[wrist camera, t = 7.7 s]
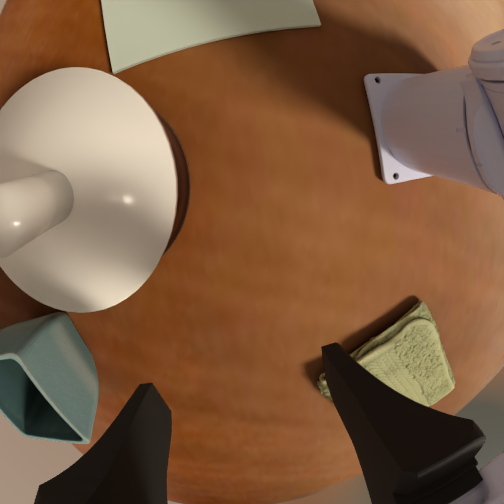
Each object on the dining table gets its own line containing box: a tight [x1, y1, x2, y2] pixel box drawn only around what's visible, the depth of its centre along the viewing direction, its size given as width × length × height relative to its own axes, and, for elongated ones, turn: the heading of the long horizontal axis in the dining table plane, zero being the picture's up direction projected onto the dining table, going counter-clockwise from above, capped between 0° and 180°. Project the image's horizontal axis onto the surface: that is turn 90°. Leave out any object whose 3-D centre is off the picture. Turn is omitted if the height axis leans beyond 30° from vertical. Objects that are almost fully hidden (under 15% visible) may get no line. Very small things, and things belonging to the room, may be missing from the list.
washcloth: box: [317, 300, 455, 407], centre depth 26 cm, size 13×18×3 cm
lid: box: [0, 67, 178, 313], centre depth 10 cm, size 12×12×5 cm
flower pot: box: [0, 312, 99, 444], centre depth 17 cm, size 9×9×9 cm
